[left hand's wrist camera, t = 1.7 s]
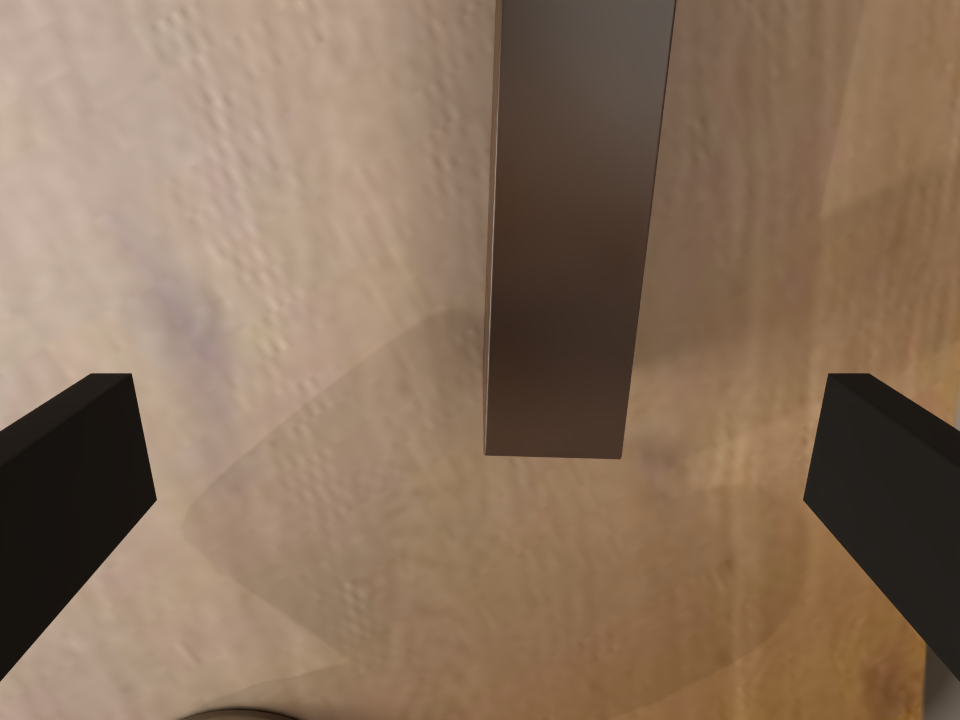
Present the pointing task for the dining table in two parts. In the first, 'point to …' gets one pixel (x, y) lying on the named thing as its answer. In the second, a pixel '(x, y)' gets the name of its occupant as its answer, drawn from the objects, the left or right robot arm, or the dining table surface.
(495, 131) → the beam
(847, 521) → the left robot arm
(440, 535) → the dining table surface
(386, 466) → the dining table surface
